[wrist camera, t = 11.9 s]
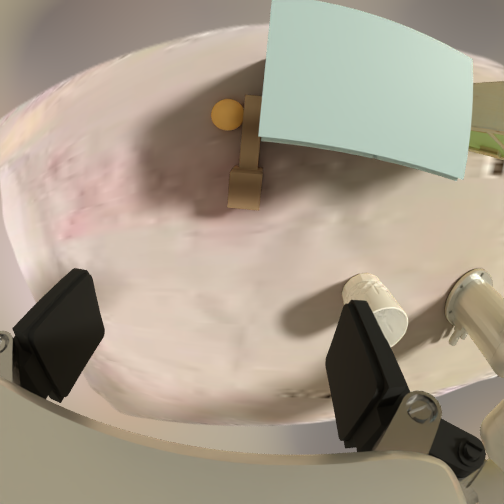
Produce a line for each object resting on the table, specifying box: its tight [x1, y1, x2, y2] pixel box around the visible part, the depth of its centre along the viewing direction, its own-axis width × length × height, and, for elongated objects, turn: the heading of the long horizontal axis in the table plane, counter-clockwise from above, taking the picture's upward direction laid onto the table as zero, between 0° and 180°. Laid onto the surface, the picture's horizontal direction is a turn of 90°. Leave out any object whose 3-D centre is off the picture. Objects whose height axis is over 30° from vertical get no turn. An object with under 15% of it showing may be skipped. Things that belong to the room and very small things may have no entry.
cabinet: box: [258, 0, 473, 181], centre depth 22 cm, size 11×16×18 cm
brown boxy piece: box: [227, 95, 263, 210], centre depth 31 cm, size 13×4×6 cm, turn 175°
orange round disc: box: [211, 99, 244, 130], centre depth 31 cm, size 4×4×2 cm
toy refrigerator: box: [468, 81, 504, 160], centre depth 20 cm, size 8×7×21 cm
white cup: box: [342, 273, 408, 347], centre depth 37 cm, size 8×8×10 cm
